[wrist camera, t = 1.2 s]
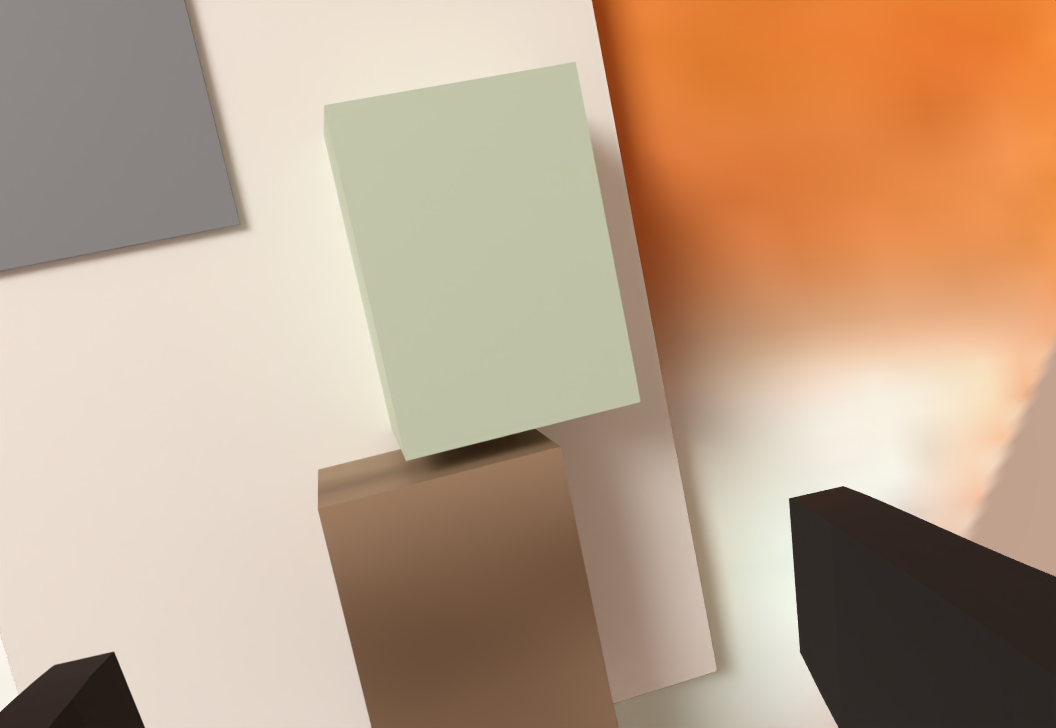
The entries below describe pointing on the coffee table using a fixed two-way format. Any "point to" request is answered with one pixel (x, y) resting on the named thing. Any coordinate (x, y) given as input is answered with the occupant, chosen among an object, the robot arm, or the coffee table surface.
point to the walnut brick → (466, 588)
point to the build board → (257, 350)
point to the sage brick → (482, 256)
